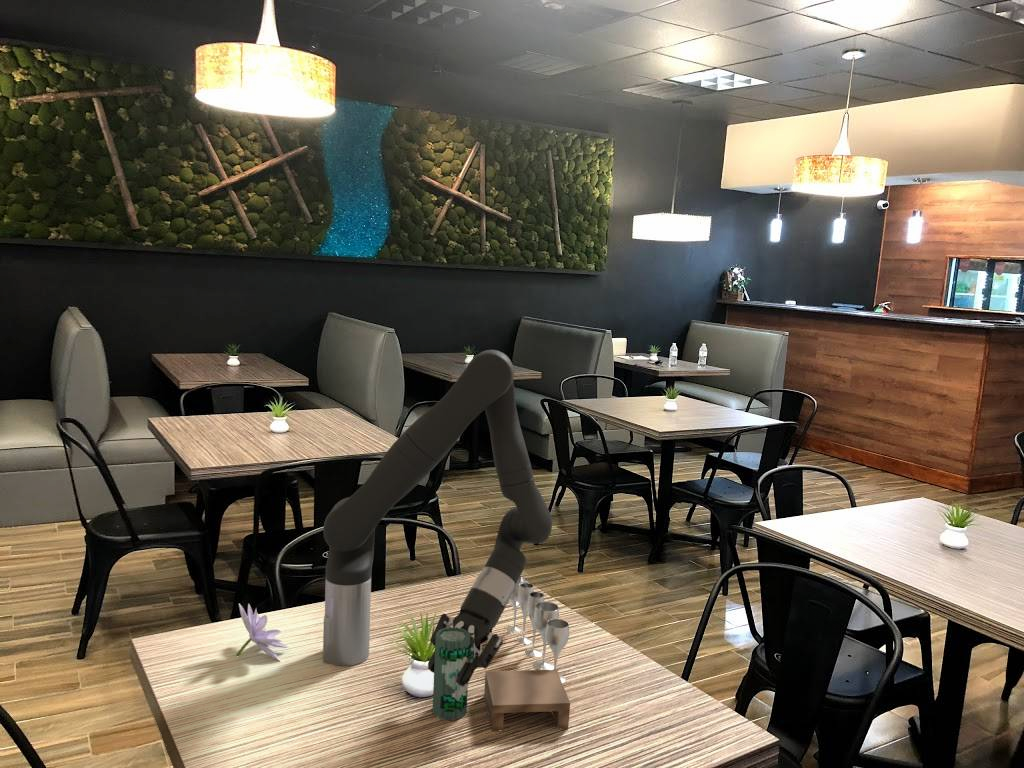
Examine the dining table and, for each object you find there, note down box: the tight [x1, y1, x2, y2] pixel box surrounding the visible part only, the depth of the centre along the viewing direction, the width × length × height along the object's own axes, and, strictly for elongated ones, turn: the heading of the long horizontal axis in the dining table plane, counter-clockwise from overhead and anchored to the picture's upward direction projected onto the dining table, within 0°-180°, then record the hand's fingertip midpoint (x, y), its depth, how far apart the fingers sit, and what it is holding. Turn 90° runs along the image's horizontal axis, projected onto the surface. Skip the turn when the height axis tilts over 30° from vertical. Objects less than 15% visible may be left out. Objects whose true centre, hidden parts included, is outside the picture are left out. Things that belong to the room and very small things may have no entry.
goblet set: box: [506, 575, 570, 684], centre depth 172 cm, size 28×6×13 cm, turn 21°
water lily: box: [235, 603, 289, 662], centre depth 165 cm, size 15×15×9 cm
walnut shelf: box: [483, 669, 571, 732], centre depth 150 cm, size 14×12×5 cm
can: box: [432, 626, 470, 721], centre depth 148 cm, size 6×6×15 cm
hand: (445, 677), depth 146 cm, fingers closed on can, 6 cm apart
